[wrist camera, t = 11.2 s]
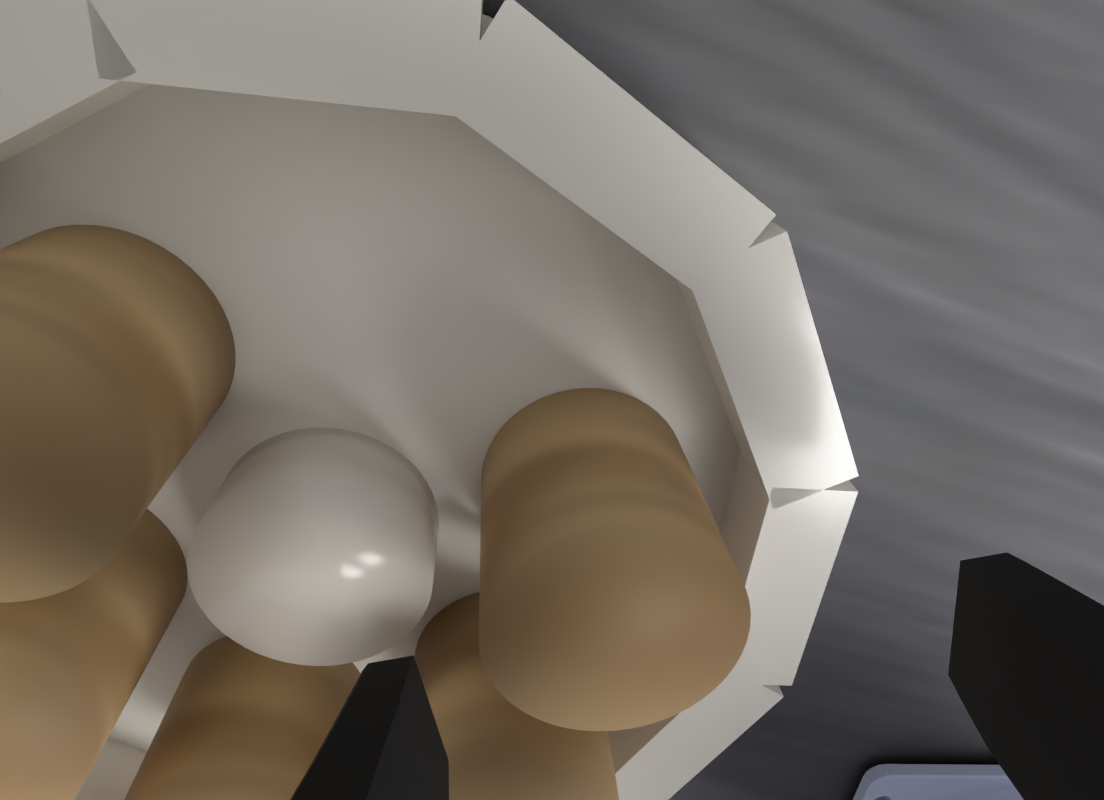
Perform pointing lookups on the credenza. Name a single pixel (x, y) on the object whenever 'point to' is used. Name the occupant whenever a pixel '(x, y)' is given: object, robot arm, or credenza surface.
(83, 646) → the seated bead
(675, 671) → the bead
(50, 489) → the seated bead
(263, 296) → the tray
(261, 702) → the seated bead
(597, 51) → the credenza surface
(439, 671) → the bead
